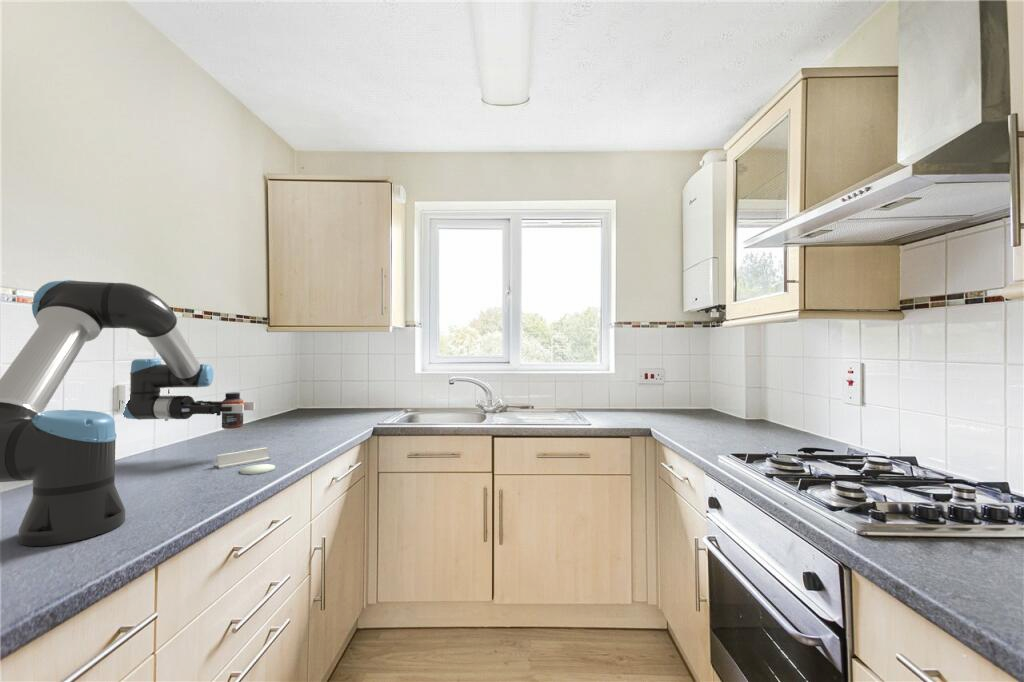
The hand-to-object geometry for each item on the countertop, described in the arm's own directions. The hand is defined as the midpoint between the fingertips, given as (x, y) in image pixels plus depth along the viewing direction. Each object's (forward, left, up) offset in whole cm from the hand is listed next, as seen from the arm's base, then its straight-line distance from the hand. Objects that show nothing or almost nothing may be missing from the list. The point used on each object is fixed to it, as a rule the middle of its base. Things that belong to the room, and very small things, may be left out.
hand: (248, 407), depth 146 cm
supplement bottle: (+4, +4, -7) cm, 9 cm away
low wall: (-6, +4, -16) cm, 18 cm away
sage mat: (-18, +4, -16) cm, 25 cm away
